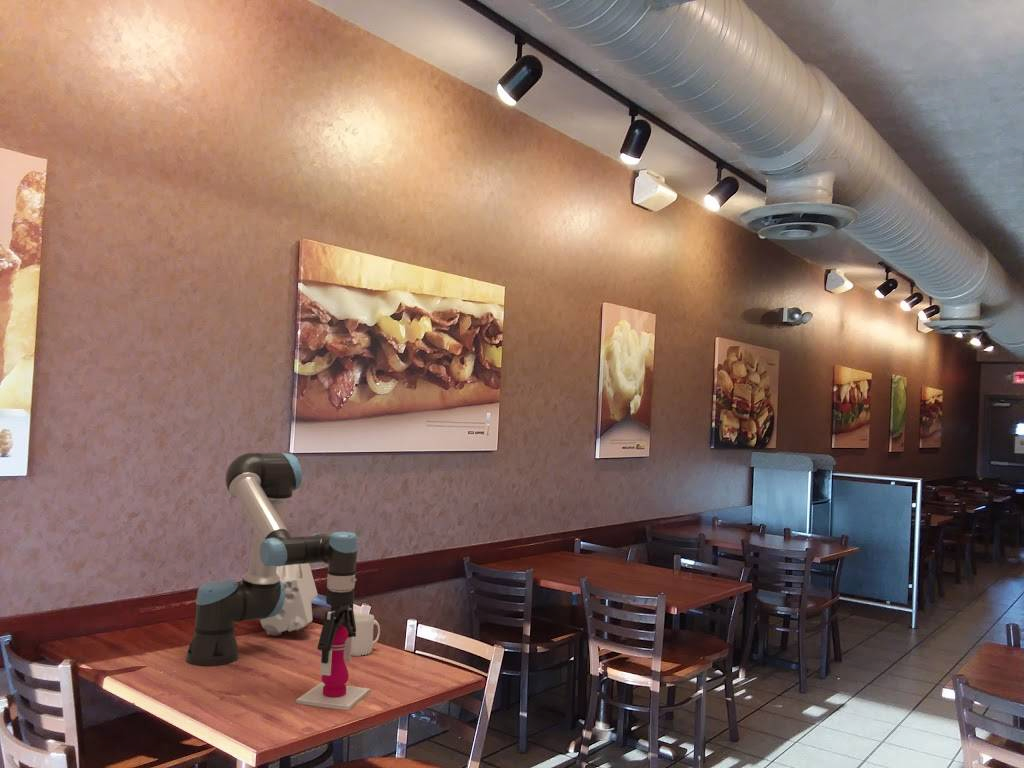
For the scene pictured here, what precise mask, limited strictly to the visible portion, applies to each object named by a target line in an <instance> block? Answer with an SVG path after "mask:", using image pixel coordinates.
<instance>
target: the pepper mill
mask: <svg viewBox="0 0 1024 768" xmlns="http://www.w3.org/2000/svg"><path fill="white" fill-rule="evenodd" d="M347 638H348V630H347V628H346V627H345V626H343V625H340V627H339V628H338V629H337V632H336V635H335V638H334V641H333V644H332V646H331V649H330V650H332V660H331V675H330V676H328V675H321V682H322V683H324V684H325V686H324V687H323V694H324V695H325V696H330V697H337V696H342V695H344V694H345V693H346V686H347V685H346V683H347V682H348V681H349V678H350V677H349V669H348V667H347V665H346V663H345V662H346V661H344V649H345V648H346V643H345V641H346V639H347Z"/></svg>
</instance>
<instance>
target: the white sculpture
mask: <svg viewBox="0 0 1024 768" xmlns="http://www.w3.org/2000/svg"><path fill="white" fill-rule="evenodd" d="M276 573H277V575H278V576H279V577H280V581H281V582H282V583H283V585H284V587H285V590H284V592H285V601H284V604H283V607H282V609H281V611H280V612H279V613H278V614H277V615H275V616H273V617H268V618H265V619H259V623H260V624H261V628H263V629H264V630H265V631H266V634H267V635H269V636H273V637H277V636H280V635H282V633H283V632H286V631H287V632H288V633H289V632H293V631H297V633H299V631H300V630H301V629H303V628H305V627H307V626H308V625H309V624H310V623H312V621H313V611H312V607H313V606H312V601H313V600H314V599H316V598H317V597H318V596H319V595H318V590H317V588H316V586H317V585H316V583H315V580H314V577H313V572H312V569H311V565H310V563H307V564H294V565H285V566H277V570H276Z"/></svg>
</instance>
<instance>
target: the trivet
mask: <svg viewBox="0 0 1024 768" xmlns="http://www.w3.org/2000/svg"><path fill="white" fill-rule="evenodd" d="M324 686H325V684H324V683H323V682H320V683H318V684H317V685H315V686H314V687H312V688H311V689H309V690H308V691H307V692H305V693H304V694H303V695H301V696H299V697H298V698H297V699H296V701H295V704H298V705H306V706H312V707H313V706H314V707H320V708H327V709H332V710H333V709H335V710H343V711H350V710H351V709H352V708H353V707H355V706H356V705H357V704H358V703H359V702H360V701H362V700H363V699H364V698H365V697H366V696H368V695H369V694H370V693H371V688H369V687H367V688H365V687H359V686H352V685H346V693H345V694H344V695H342V696H337V697H330V696H325V695H324V694H323V687H324Z"/></svg>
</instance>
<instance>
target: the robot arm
mask: <svg viewBox="0 0 1024 768" xmlns="http://www.w3.org/2000/svg"><path fill="white" fill-rule="evenodd" d="M302 481H303V471H302V467H301V464H300V461H299V459H298V457H297V456H295V455H294V454H292V453H284V452H283V453H282V452H248V453H243V454H241V455H239V456H238V457H236V458H234V459H233V461H231V463H230V464H229V465H228V467H227V470H226V473H225V481H224V482H225V486H226V490H228V493H229V494H230V496H231V497H233V498H234V499H236V500H237V501H238V502H239V504H240V506H241V508H242V509H243V510H242V511H244V513H245V516H247V519H248V520H249V522H250V523H251V525H252V527H253V535H252V537H253V538H252V544H251V551H250V558H249V564H248V566H249V567H248V571H246V572H245V573H244V574H243V575H242V580H241V583H238V581H237V580H235V579H231V578H230V579H217V580H212V581H209V582H205V583H204V584H202V585H200V587H198V590H197V594H196V595H197V596H196V599H195V604H196V605H195V618H194V633H193V637H192V639H191V641H190V644H189V647H188V649H187V652H186V657H185V658H186V661H187V663H190V664H191V665H198V666H220V665H226V664H229V663H233V662H235V661H237V660H238V659H239V651H240V650H239V647H238V642H237V639H236V636H235V625H236V623H239V622H244V621H245V622H246V621H253V620H260V619H265V618H268V617H273V616H275V615H277V614H278V613H279V612H280V611H281V609H282V607H283V604H284V601H285V592H284V590H285V587H284V585H283V583H282V582H281V581H280V577H279V576H278V575H277V573H276V570H277V566H285V565H294V564H307V563H309V564H316V563H318V564H319V563H324V564H328V565H327V566H328V567H327V581H326V588H327V590H326V597H325V602H326V604H327V605H329V606H330V607H331V608H330V611H325V612H324V619H323V624H322V627H321V632H320V635H319V638H318V639H319V641H318V643H317V650H318V651H321V654H320V665H319V668H320V669H319V675H320V676H322V675H328V676H330V675H331V660H332V650H330V649H331V646H332V644H333V641H334V638H335V635H336V632H337V629H338V628H339V627H340V625H343V626H345V627H346V628H347V630H348V638H347V639H346V641H345V643H346V648H345V649H344V662H351V661H352V656H351V652H352V637H355V636H356V633H355V632H356V625H355V618H354V613H355V612H354V602H355V590H354V589H355V586H356V582H357V578H356V572H357V571H356V570H357V558H358V549H359V547H358V535H357V534H356V533H355V532H352V531H351V532H349V531H336V532H332V533H331V534H330V535H329V534H326V533H313V534H311V535H307V536H306V535H305V536H292V535H291V533H290V532H289V531H288V528H287V527H286V525H285V524H284V519H285V512H286V506H287V502H288V501H290V500H291V499H292V497H293V491H296V490H297V489H299V488H300V486H301V484H302Z"/></svg>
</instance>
